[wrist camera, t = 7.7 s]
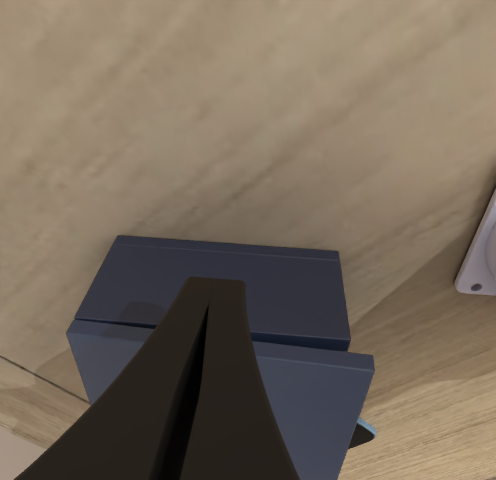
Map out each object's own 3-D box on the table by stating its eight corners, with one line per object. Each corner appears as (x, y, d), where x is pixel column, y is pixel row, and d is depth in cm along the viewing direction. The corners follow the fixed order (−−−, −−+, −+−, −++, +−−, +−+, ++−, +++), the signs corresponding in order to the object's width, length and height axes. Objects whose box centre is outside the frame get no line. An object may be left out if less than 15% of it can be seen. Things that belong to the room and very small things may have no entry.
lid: (373, 354, 17) (375, 371, 17) (321, 513, 27) (321, 527, 26) (73, 318, 18) (64, 333, 18) (126, 483, 28) (121, 497, 27)
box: (338, 250, 22) (351, 339, 18) (305, 415, 32) (307, 500, 27) (117, 234, 23) (73, 317, 18) (149, 401, 32) (126, 483, 28)
